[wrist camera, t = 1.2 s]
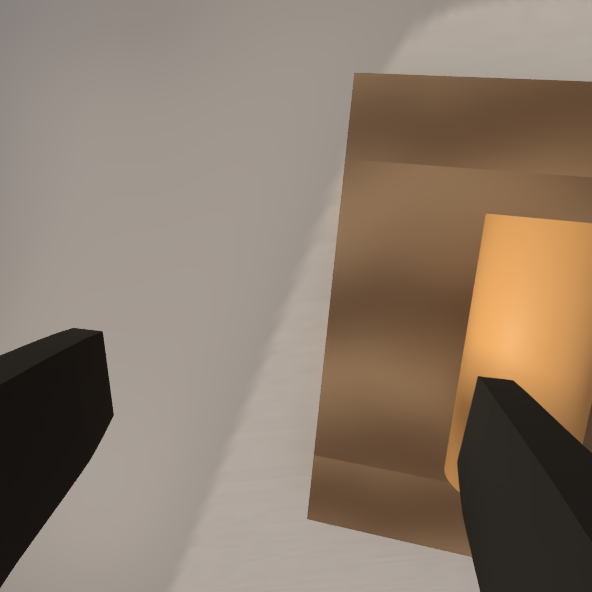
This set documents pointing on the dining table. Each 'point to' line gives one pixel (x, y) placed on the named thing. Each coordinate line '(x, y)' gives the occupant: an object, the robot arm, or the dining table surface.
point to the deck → (427, 279)
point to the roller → (530, 321)
